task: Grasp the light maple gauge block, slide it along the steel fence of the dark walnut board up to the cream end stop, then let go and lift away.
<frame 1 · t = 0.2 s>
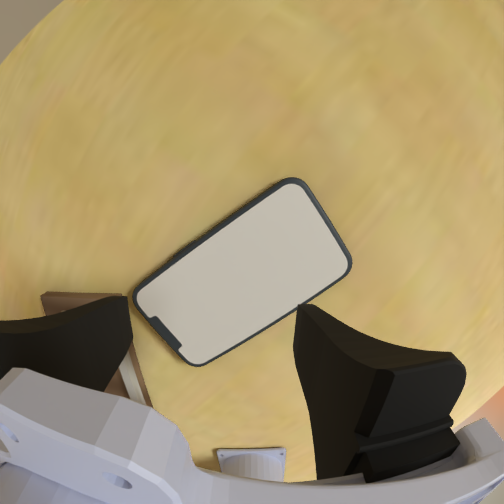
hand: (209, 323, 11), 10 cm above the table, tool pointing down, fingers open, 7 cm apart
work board: (107, 380, 24), on the table
smartphone: (239, 277, 22), on the table
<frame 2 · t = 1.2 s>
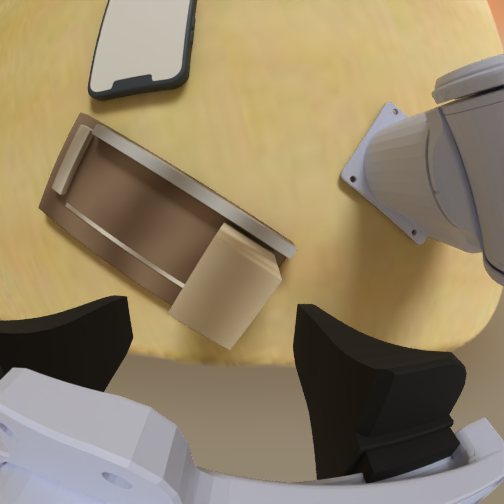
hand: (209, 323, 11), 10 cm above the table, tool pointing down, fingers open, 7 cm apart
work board: (149, 220, 20), on the table
gauge block: (230, 265, 20), point 1 cm above the table, touching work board
smartphone: (149, 21, 17), on the table
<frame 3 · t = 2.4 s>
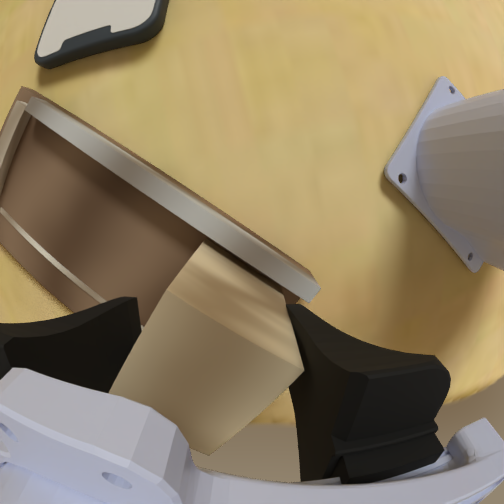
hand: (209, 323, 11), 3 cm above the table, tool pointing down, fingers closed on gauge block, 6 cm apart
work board: (99, 232, 13), on the table
gauge block: (213, 306, 13), point 1 cm above the table, touching gripper, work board
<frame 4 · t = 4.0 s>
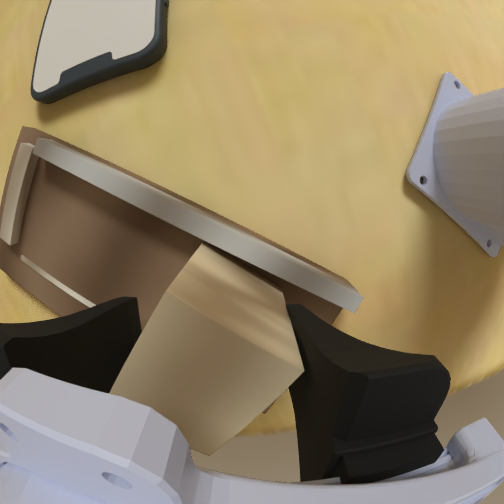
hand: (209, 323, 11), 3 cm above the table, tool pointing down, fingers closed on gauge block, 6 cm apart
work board: (133, 269, 14), on the table
gauge block: (213, 306, 13), point 1 cm above the table, touching gripper
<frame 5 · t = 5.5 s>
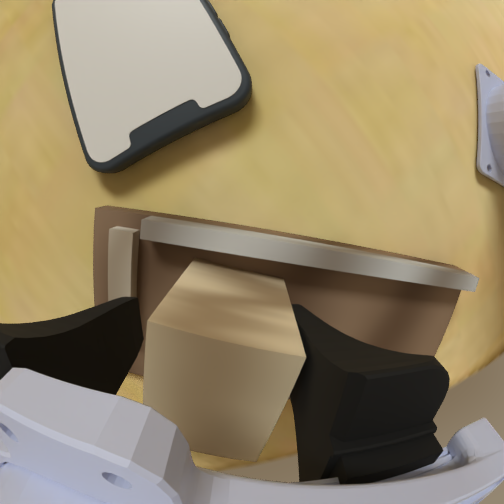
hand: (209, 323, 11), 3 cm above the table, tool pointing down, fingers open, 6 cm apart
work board: (285, 320, 14), on the table
gauge block: (227, 318, 13), point 1 cm above the table, touching gripper
smartphone: (133, 32, 11), on the table
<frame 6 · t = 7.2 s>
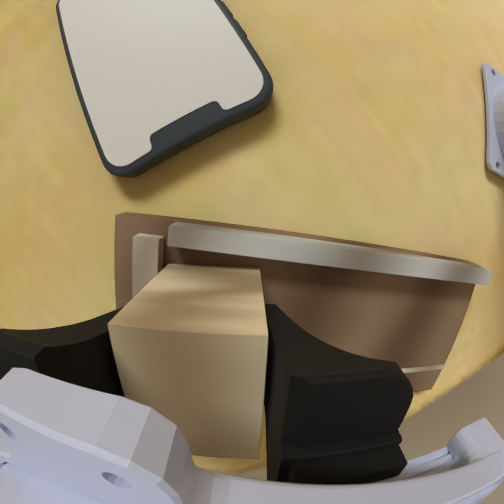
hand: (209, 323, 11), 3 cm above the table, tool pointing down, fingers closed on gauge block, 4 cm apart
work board: (310, 321, 14), on the table
gauge block: (213, 317, 13), point 1 cm above the table, touching gripper
smartphone: (144, 33, 11), on the table
when the fingers open (3 cm above the table, at t = 7.2 s): gauge block stays where it is, resting on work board.
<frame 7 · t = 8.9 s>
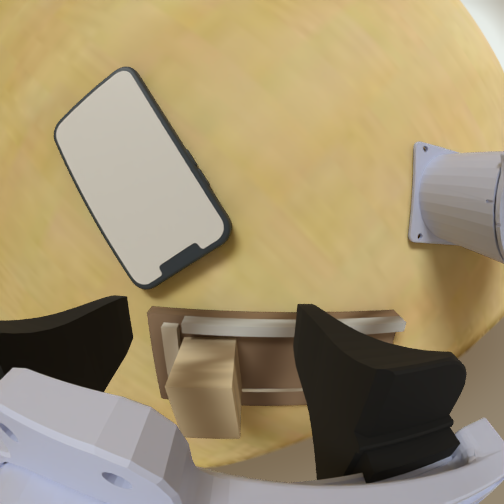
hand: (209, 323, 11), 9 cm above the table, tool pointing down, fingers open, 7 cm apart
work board: (274, 359, 22), on the table
gauge block: (214, 362, 21), point 1 cm above the table, touching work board
smartphone: (135, 173, 19), on the table
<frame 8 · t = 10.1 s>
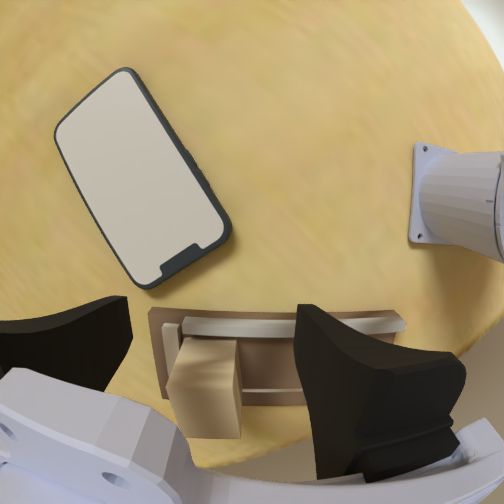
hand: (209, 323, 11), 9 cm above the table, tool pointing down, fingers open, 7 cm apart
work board: (275, 359, 22), on the table
gauge block: (214, 363, 21), point 1 cm above the table, touching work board
smartphone: (135, 173, 19), on the table
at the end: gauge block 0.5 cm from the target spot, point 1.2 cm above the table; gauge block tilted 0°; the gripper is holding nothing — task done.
